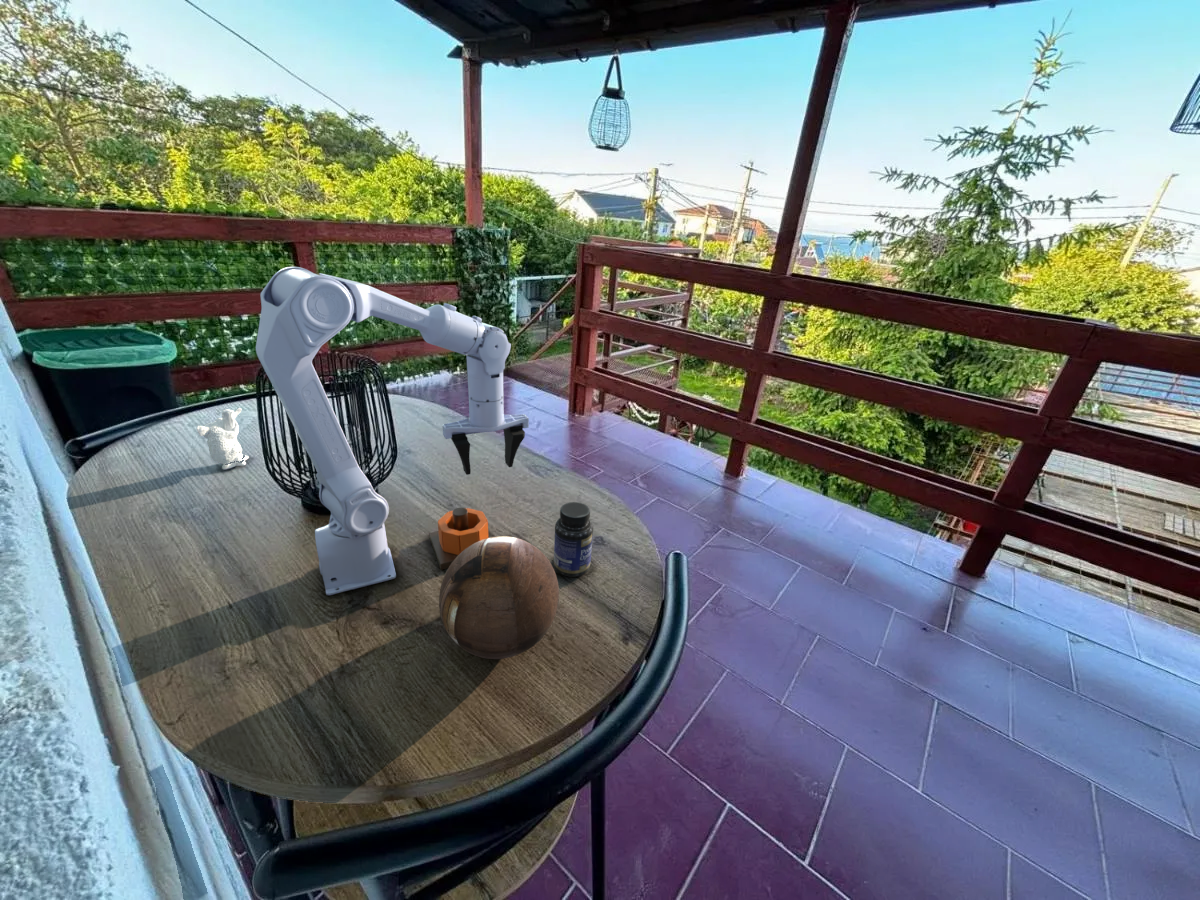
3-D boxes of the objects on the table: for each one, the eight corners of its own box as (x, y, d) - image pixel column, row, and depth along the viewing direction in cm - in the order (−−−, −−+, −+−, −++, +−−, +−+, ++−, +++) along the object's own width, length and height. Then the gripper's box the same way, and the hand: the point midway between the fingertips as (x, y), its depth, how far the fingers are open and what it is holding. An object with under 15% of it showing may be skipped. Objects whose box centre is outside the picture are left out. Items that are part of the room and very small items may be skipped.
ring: (446, 559, 77) (444, 539, 75) (436, 533, 83) (434, 514, 81) (492, 547, 80) (492, 528, 78) (480, 523, 86) (479, 504, 84)
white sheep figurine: (248, 453, 105) (234, 402, 100) (263, 463, 102) (249, 410, 97) (202, 466, 99) (185, 412, 94) (216, 477, 96) (199, 422, 91)
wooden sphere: (540, 589, 74) (542, 507, 67) (571, 667, 61) (578, 575, 55) (438, 611, 68) (429, 524, 62) (450, 702, 56) (441, 604, 49)
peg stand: (441, 569, 76) (437, 532, 73) (429, 538, 83) (425, 503, 80) (496, 555, 80) (495, 519, 77) (480, 526, 87) (479, 492, 84)
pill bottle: (585, 581, 76) (589, 523, 71) (548, 574, 77) (550, 516, 72) (593, 557, 82) (598, 502, 77) (559, 551, 83) (561, 496, 78)
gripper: (518, 385, 86) (519, 452, 92) (436, 393, 80) (441, 465, 86) (533, 398, 81) (532, 468, 87) (446, 407, 74) (451, 483, 80)
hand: (488, 468), depth 86 cm, fingers open, 7 cm apart
